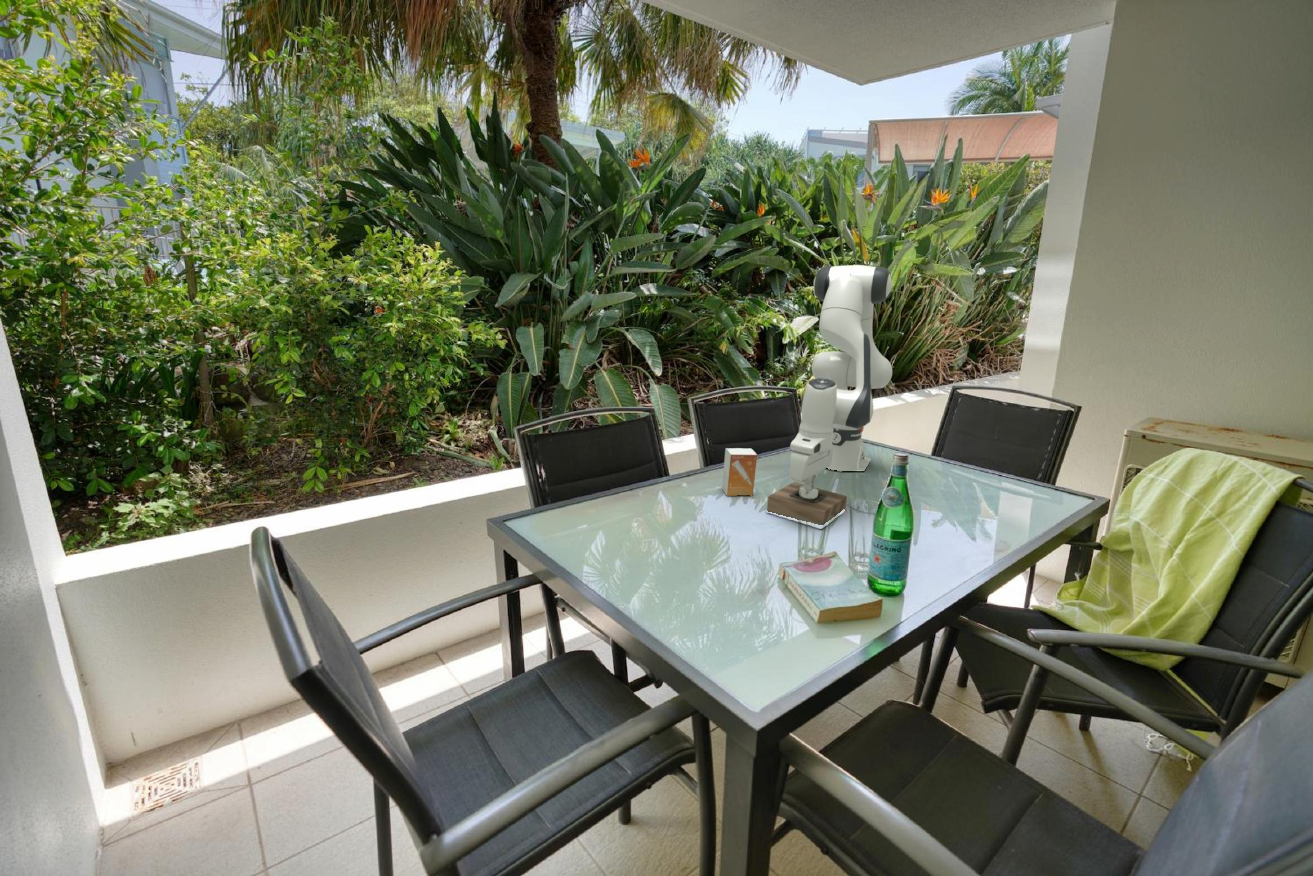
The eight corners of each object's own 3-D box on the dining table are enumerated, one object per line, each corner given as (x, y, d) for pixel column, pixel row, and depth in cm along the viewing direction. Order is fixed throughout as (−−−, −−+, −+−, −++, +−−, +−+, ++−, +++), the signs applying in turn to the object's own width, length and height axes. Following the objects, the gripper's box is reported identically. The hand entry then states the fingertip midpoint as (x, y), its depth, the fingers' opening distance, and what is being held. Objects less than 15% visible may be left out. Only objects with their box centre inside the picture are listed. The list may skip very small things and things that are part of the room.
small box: (726, 496, 180) (730, 454, 176) (721, 488, 186) (725, 447, 182) (753, 496, 181) (757, 454, 177) (747, 488, 187) (751, 447, 183)
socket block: (792, 497, 181) (794, 481, 180) (844, 512, 172) (847, 495, 171) (766, 513, 169) (768, 495, 167) (821, 530, 160) (824, 511, 158)
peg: (802, 499, 173) (804, 484, 172) (819, 504, 170) (821, 488, 169) (794, 504, 169) (796, 488, 168) (811, 509, 166) (813, 493, 165)
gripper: (819, 430, 174) (813, 476, 178) (787, 444, 159) (781, 495, 162) (841, 435, 171) (834, 482, 175) (810, 450, 155) (804, 501, 159)
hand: (808, 488), depth 168 cm, fingers closed, pressing on peg
